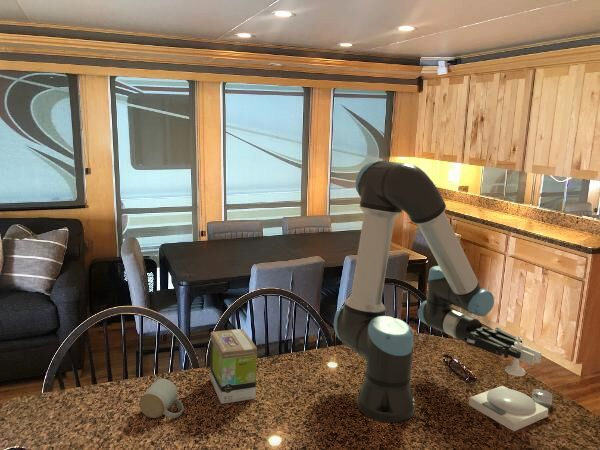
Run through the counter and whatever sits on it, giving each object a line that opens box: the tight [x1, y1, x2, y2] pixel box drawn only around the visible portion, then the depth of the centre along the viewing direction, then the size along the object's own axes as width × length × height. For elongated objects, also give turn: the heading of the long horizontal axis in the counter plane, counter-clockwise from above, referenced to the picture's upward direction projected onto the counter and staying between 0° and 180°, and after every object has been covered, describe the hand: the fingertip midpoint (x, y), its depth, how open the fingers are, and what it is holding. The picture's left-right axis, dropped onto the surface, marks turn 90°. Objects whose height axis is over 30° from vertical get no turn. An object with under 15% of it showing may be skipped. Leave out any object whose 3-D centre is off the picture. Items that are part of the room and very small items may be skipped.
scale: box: [468, 385, 549, 432], centre depth 134 cm, size 14×14×3 cm
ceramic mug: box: [139, 378, 185, 419], centre depth 127 cm, size 10×8×7 cm
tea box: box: [209, 328, 258, 404], centre depth 139 cm, size 15×10×15 cm
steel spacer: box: [531, 388, 553, 409], centre depth 138 cm, size 5×5×3 cm
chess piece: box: [504, 335, 526, 377], centre depth 132 cm, size 5×5×10 cm
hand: (536, 359), depth 127 cm, fingers closed on chess piece, 2 cm apart
